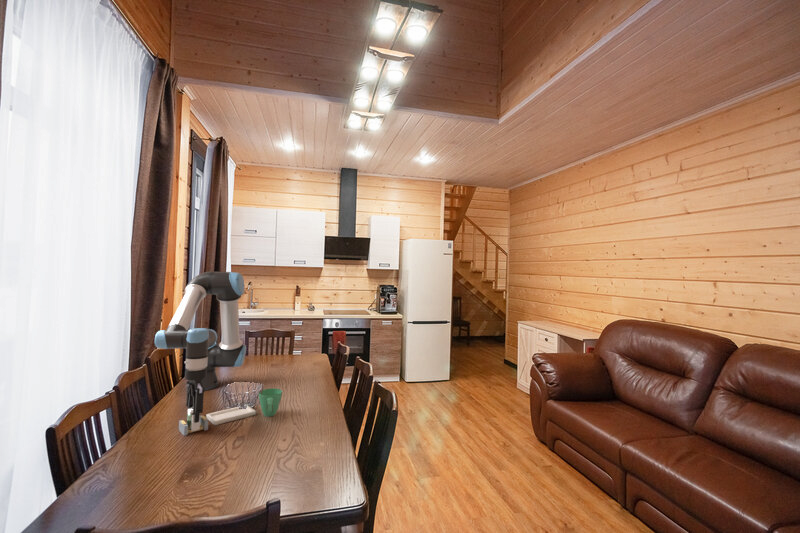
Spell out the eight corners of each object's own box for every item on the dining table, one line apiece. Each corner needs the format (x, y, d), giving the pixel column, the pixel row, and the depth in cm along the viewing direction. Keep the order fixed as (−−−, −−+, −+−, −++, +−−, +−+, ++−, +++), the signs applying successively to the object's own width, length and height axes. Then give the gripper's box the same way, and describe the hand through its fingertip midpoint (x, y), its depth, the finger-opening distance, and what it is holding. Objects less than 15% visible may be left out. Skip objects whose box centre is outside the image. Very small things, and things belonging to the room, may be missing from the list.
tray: (206, 418, 153) (206, 414, 153) (246, 408, 165) (246, 404, 165) (214, 425, 146) (214, 421, 146) (255, 414, 158) (255, 411, 158)
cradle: (178, 429, 141) (179, 419, 141) (202, 424, 147) (202, 414, 147) (184, 435, 136) (184, 425, 136) (208, 429, 142) (208, 419, 142)
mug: (258, 411, 162) (259, 389, 162) (281, 409, 165) (281, 387, 165) (256, 424, 148) (257, 400, 148) (281, 422, 151) (282, 398, 151)
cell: (197, 424, 144) (198, 403, 144) (201, 427, 141) (202, 406, 141) (184, 427, 141) (185, 406, 141) (188, 431, 138) (189, 409, 138)
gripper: (179, 365, 145) (175, 423, 144) (192, 374, 133) (189, 438, 132) (199, 362, 151) (196, 419, 150) (214, 371, 138) (211, 432, 138)
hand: (193, 428), depth 141 cm, fingers closed on cell, 4 cm apart
